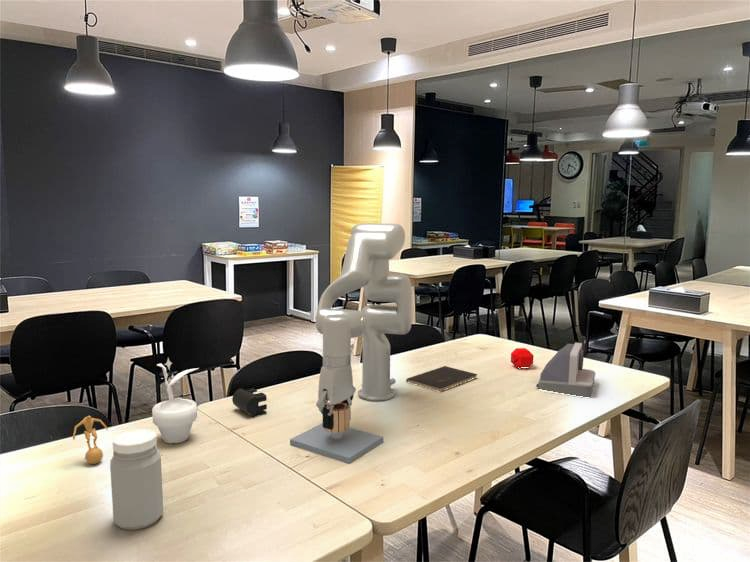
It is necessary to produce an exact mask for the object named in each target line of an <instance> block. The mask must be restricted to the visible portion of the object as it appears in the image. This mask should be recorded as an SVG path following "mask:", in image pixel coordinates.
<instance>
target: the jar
mask: <svg viewBox="0 0 750 562" xmlns="http://www.w3.org/2000/svg"><path fill="white" fill-rule="evenodd" d="M157 442H158V441H157V432H156V431H154V430H152V429H149V428H136V429H129V430H126V431H123V432H120V433H118V434H117V435H115V436H114V437H112V451H113V452H112V454H113V456H112V458H111V459H110V463H109V467H110V469H109V470H110V482H111V483H110V485H111V486H110V487H111V498H112V499H111V501H112V502H111V503H112V518H113V523H114V524H115V525H117V526H118V527H119V528H121V529H122V530H130V531H136V530H141V529H145V528H147V527H149V526H150V527H151V526H152V525H154V524H155V523H156V522H157V521H158V520H159V518H160V517H161V516H162V515H163V513H164V500H163V499H164V497H163V496H164V495H163V476H162V473H163V472H162V456H161V452H160V450H158V447H157V444H158V443H157Z"/></svg>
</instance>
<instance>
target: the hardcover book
mask: <svg viewBox="0 0 750 562" xmlns="http://www.w3.org/2000/svg"><path fill="white" fill-rule="evenodd" d="M477 376H478V374H477V373H475V372H469V371H466V370H462V369H458V368H454V367H449V366H446V365H444V366H440V367H438V368H435V369H431V370H429V371H425V372H422V373H419V374H416V375H413V376H410V377H407V378H406V381H405V383H406V382H410V383H413V384H417V385H421V386H424V387H427V388H431V389H434V390H438V391H442V390H445V389H447V388H450V387H452V386H455V385H457V384H460V383H463V382H465V381H468V380H470V379H472V378H475V377H476V378H477ZM468 382H469V381H468ZM410 383H409V384H410ZM413 384H412V385H413ZM463 384H464V383H463ZM417 385H416V386H417ZM460 385H461V384H460ZM424 387H423V388H424ZM455 387H456V386H455ZM427 388H426V389H427ZM431 389H430V390H431ZM450 389H451V388H450ZM434 390H433V391H434ZM447 390H448V389H447ZM445 391H446V390H445ZM442 392H443V391H442Z"/></svg>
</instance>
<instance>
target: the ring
mask: <svg viewBox="0 0 750 562" xmlns="http://www.w3.org/2000/svg"><path fill="white" fill-rule="evenodd" d="M329 406H330V405H327V409H328V410H329ZM331 415H333V429H332V430H330V429H327V428H324V429H325V430H326V431H328V432H334V433H338V432H345V431H347V430H349V428H351V406H350V405H349V404H347V403H343V402H342V403H341V402H340V403H337V404H335V405H334V407H333V411H332V414H331Z"/></svg>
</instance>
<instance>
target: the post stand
mask: <svg viewBox="0 0 750 562" xmlns="http://www.w3.org/2000/svg"><path fill="white" fill-rule="evenodd" d="M382 443H384V436H383V435H378V434H375V433H373V432H372V433H371V432H368V431H364V430H360V429H358V428H354V427H353V428H352V427H350V428H349V430H347V431H345V432H338V433H334V432H328V431H326V430H325V429H324V428H323V422H322V423H319V424H318V425H316V426H314V427H312V428H309V429H308V430H306V431H304V432H301V433H300V434H298V435H296V436H294V437H292V438H290V439H289V446H293V447H296V448H298V449H299V448H300V449H303V450H305V451H309V452H312V453H315V454H319V455H322V456H324V457H327V458H331V459H334V460H335V461H340V462H342V463H347V464H351V463H352V462H354V461H355V460H357V459H359V458H360V457H362V456H364V454H366V453H368V452H370V451H371V450H373V449H374V448H376V447H378V446H379V445H381V444H382Z"/></svg>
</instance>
